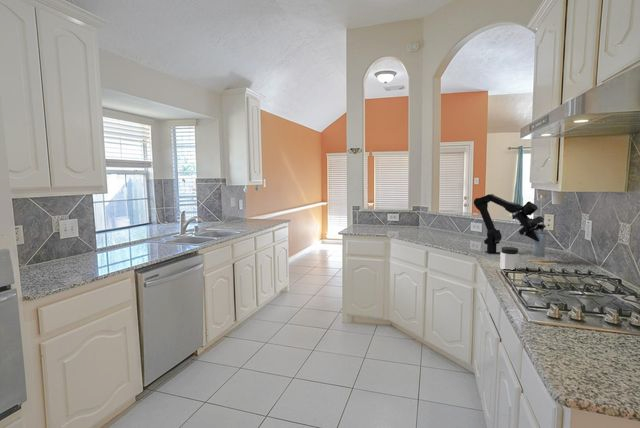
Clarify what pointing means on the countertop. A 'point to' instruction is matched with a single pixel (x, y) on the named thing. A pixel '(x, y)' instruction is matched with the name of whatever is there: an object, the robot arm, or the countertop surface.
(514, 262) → the jar
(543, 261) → the coaster
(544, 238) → the canister
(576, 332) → the countertop surface
